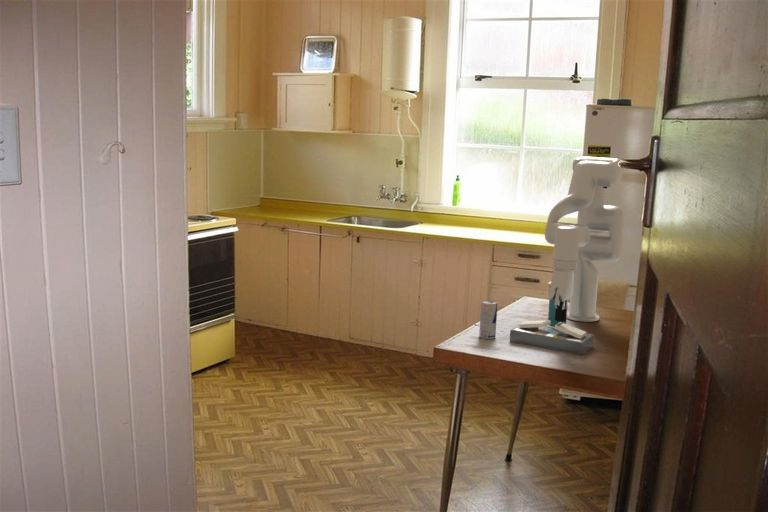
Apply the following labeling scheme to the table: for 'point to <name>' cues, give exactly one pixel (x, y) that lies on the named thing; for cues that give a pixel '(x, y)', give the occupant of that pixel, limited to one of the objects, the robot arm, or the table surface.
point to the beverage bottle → (553, 313)
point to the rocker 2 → (570, 330)
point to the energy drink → (488, 319)
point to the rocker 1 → (534, 324)
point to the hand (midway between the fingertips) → (560, 320)
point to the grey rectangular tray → (551, 339)
